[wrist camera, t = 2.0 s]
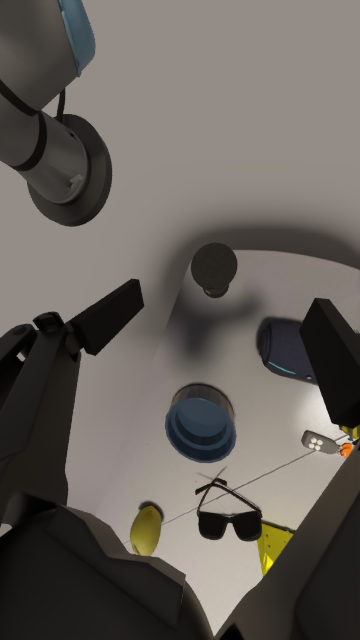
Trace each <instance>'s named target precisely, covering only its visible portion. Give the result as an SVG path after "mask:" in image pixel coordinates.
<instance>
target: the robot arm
mask: <svg viewBox="0 0 360 640" xmlns="http://www.w3.org/2000/svg"><path fill="white" fill-rule="evenodd" d="M94 54H95V38H94V34H93V31H92V28H91V25H90V22H89V19H88V17H87V14H86V12H85V9H84V6H83V3H82V1H81V0H0V161H2V162H3V163H5V164H7V165H8V166H10V167H12V168H13V169H14V170H16V171H17V172H18V173H19V174H20V175H22V176H23V178H25V179H26V181H27V182H28V183H29V184H30V185H32V186H33V187H34V188H35V189H36V190H37V191H38V193H40V195H41V196H43V197H44V198H45V199H47V200H49V201H50V202H52V203H54V204H56V205H59V206H67V205H71V204H73V203H75V202H76V201H78V200H79V199H80V198H81V197H82V195H83V194H84V192H85V191H86V189H87V186H88V184H89V180H90V175H91V161H90V157H89V153H88V151H87V148H86V147H85V145H84V144H83V142H82V141H81V140H80V139H79V138H78V136H77V135H76V134H75V133H74V132H73V131H72V130H70V129H69V128H67V127H66V126H64V125H63V124H62V117H63V111H64V105H65V87H66V86H67V85H69V84H70V83H71V82H72V81H73V80H74V79H75V78H76V77H80V75H81V71H82V70H83V69H84V68H85V67H86V66H87V65H88V63H90V61H91V60H92V59H93V57H94ZM59 93H60V97H59V104H58V110H57V117H56V120H55V119H54V118H52V117H51V116H49V115H48V114H46V113H45V112H43V111H42V108H44V107H45V106H46V105H47V104H48V103H49V102H50V101H51V100H52V99H53V98H54V97H56V96H57V95H58V94H59ZM143 307H144V303H143V297H142V293H141V287H140V282H139V280H138V279H130V280H129V281H127V282H126V283H125V284H123V285H122V286H120V287H119V288H117V289H116V290H114V291H113V292H111V293H110V294H109V295H107V296H105V297H104V298H102V299H101V300H99V301H98V302H97V303H95V304H94V305H92V306H90V307H88V308H87V309H86V310H84V311H83V312H81V313H80V314H78V315H77V316H75V317H74V318H72V319H71V320H69V321H68V322H66V323H65V324H64V322H63V320H62V319H61V317H60V315H59V314H58V313H57V312H48V313H43V314H41V315H39V316H37V317H36V318H34V319H33V322H34V323H35V325H36V326H37V328H38V329H39V330H35V328H34V327H33V326H32V325H31V324H23V325H19V326H16V327H14V328H12V329H11V330H9V331H8V332H7V333H6V334H4V335H3V336H2V337H1V338H0V526H1V523H3V524H9V525H11V526H12V529H11V530H9V531H8V532H6V533H5V534H4V535H2V536H1V537H0V640H360V438H359V439H357V440H355V441H354V442H352V444H353V445H354V446H355V445H356V446H355V447H354V449H353V450H352V452H351V453H350V454H349V456H348V457H347V459H346V460H345V462H344V463H343V464H342V466H341V467H340V469H339V470H338V472H337V473H336V474H335V476H334V477H333V479H332V480H331V481H330V483H329V484H328V486H327V487H326V489H325V490H324V491H323V493H322V494H321V496H320V497H319V499H318V500H317V501H316V503H315V504H314V506H313V507H312V509H311V510H310V511H309V513H308V514H307V516H306V517H305V519H304V520H303V521H302V523H301V524H300V526H299V527H298V529H297V530H296V531H295V533H294V534H293V536H292V537H291V539H290V540H289V541H288V543H287V544H286V546H285V547H284V549H283V550H282V551H281V553H280V554H279V556H278V557H277V559H276V560H275V561H274V563H273V564H272V566H271V567H270V569H269V570H268V571H267V573H266V574H265V576H264V577H263V578H262V580H261V581H260V582H259V583H258V584H257V585H256V586H255V587H254V588H253V589H251V590H250V591H249V592H248V593H247V594H246V595H245V596H244V597H243V598H242V599H241V601H240V602H239V603H238V605H237V606H236V607H235V609H234V610H233V612H232V613H231V614H230V616H229V617H228V618H227V620H226V621H225V623H224V624H223V625H222V627H221V628H220V630H219V631H218V632H217V634H216V635H215V637H214V636H213V633H212V630H211V627H210V625H209V622H208V619H207V617H206V614H205V612H204V610H203V608H202V606H201V604H200V601H199V600H198V598H197V596H196V595H195V593H194V591H193V590H192V588H191V587H190V586H189V584H188V583H187V582H186V580H185V577H186V575H185V574H184V573H182V572H181V571H179V570H177V569H176V568H174V567H173V566H171V565H170V564H168V563H167V562H165V561H163V560H162V559H160V558H158V557H151V556H143V555H136V554H131V553H129V552H128V551H127V550H126V548H125V547H124V545H123V544H122V542H121V541H120V540H119V538H118V537H117V535H116V534H115V532H114V531H113V529H112V528H111V527H110V526H109V525H107V524H106V523H104V522H103V521H101V520H100V519H98V518H97V517H95V516H93V515H92V514H90V513H87V512H84V511H80V510H77V509H74V508H70V507H67V498H68V482H67V478H66V475H65V463H66V457H67V450H68V443H69V435H70V429H71V422H72V414H73V409H74V402H75V395H76V388H77V381H78V374H79V368H80V361H81V352H80V349H82V348H84V349H85V351H86V353H88V354H91V355H94V356H96V355H97V354H98V353H99V352H100V351H101V350H102V349H103V348H104V347H105V346H106V345H107V344H108V343H109V342H110V341H111V339H113V338H114V337H115V335H117V334H118V333H119V331H120V330H122V328H123V327H124V326H125V325H126V324H127V323H128V322H129V321H130V320H131V319H132V318H133V317H134V316H135V315H136V314H137V313H138V312H139V311H140V310H141V309H142V308H143ZM299 333H300V336H301V339H302V342H303V344H304V347H305V350H306V353H307V355H308V358H309V361H310V364H311V367H312V369H313V372H314V375H315V378H316V380H317V383H318V386H319V389H320V392H321V394H322V397H323V400H324V403H325V406H326V408H327V411H328V414H329V417H330V419H331V422H332V423H333V424H337V425H341V426H344V427H348V428H351V429H354V428H356V427H357V426H359V425H360V339H359V337H358V336H357V335H356V333H355V332H354V331H353V330H352V328H351V327H350V326H349V324H348V323H347V322H346V320H345V319H344V318H343V317H342V315H341V314H340V313H339V311H338V310H337V309H336V307H335V306H334V305H333V304H332V302H331V301H330V300H329V299H322V298H315V299H314V301H313V303H312V305H311V307H310V309H309V311H308V313H307V315H306V317H305V319H304V321H303V323H302V325H301V327H300V329H299ZM19 352H21V354H22V355H23V356H24V357H25V358H26V359H25V360H24V361H23V362H22V361H20V359H19V358H18V357H17V355H18V353H19ZM184 583H185V584H184ZM183 589H184V590H183ZM182 595H183V596H182ZM181 601H182V602H181Z"/></svg>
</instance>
